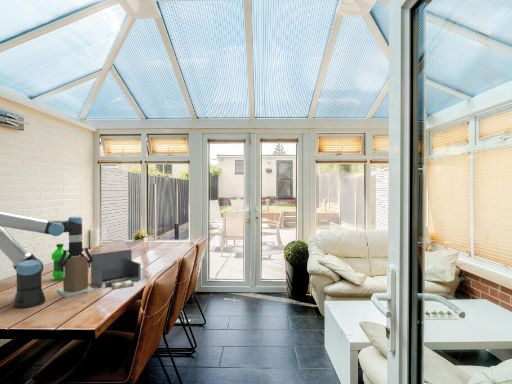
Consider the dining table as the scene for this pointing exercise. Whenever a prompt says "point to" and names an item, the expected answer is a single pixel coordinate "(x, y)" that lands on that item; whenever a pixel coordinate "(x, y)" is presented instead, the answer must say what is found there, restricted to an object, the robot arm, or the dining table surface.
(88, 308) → the dining table surface
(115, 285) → the cream offcut
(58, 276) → the plastic bottle
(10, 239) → the robot arm
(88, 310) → the dining table surface
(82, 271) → the wooden block
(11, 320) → the dining table surface
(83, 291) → the sage mat
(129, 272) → the rack
